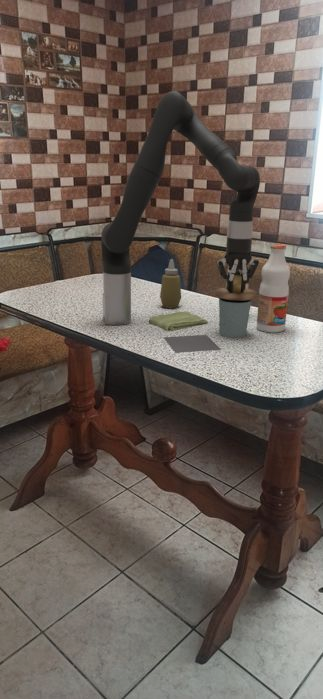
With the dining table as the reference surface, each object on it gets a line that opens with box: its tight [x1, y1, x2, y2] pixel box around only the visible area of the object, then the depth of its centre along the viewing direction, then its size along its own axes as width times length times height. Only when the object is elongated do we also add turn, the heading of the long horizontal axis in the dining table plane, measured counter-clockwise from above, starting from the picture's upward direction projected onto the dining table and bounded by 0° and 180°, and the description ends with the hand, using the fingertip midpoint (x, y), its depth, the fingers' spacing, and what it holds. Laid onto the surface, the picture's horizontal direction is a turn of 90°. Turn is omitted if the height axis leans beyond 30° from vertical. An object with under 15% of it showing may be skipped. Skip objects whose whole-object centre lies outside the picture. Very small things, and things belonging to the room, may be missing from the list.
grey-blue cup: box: [218, 297, 252, 339], centre depth 167 cm, size 10×10×12 cm
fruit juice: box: [256, 243, 291, 334], centre depth 171 cm, size 9×9×28 cm
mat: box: [163, 334, 222, 354], centre depth 159 cm, size 14×14×1 cm
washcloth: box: [148, 310, 209, 332], centre depth 179 cm, size 13×18×3 cm
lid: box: [214, 275, 258, 301], centre depth 164 cm, size 13×13×6 cm
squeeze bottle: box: [159, 258, 182, 309], centre depth 197 cm, size 8×8×18 cm
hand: (235, 291), depth 164 cm, fingers closed on lid, 3 cm apart
